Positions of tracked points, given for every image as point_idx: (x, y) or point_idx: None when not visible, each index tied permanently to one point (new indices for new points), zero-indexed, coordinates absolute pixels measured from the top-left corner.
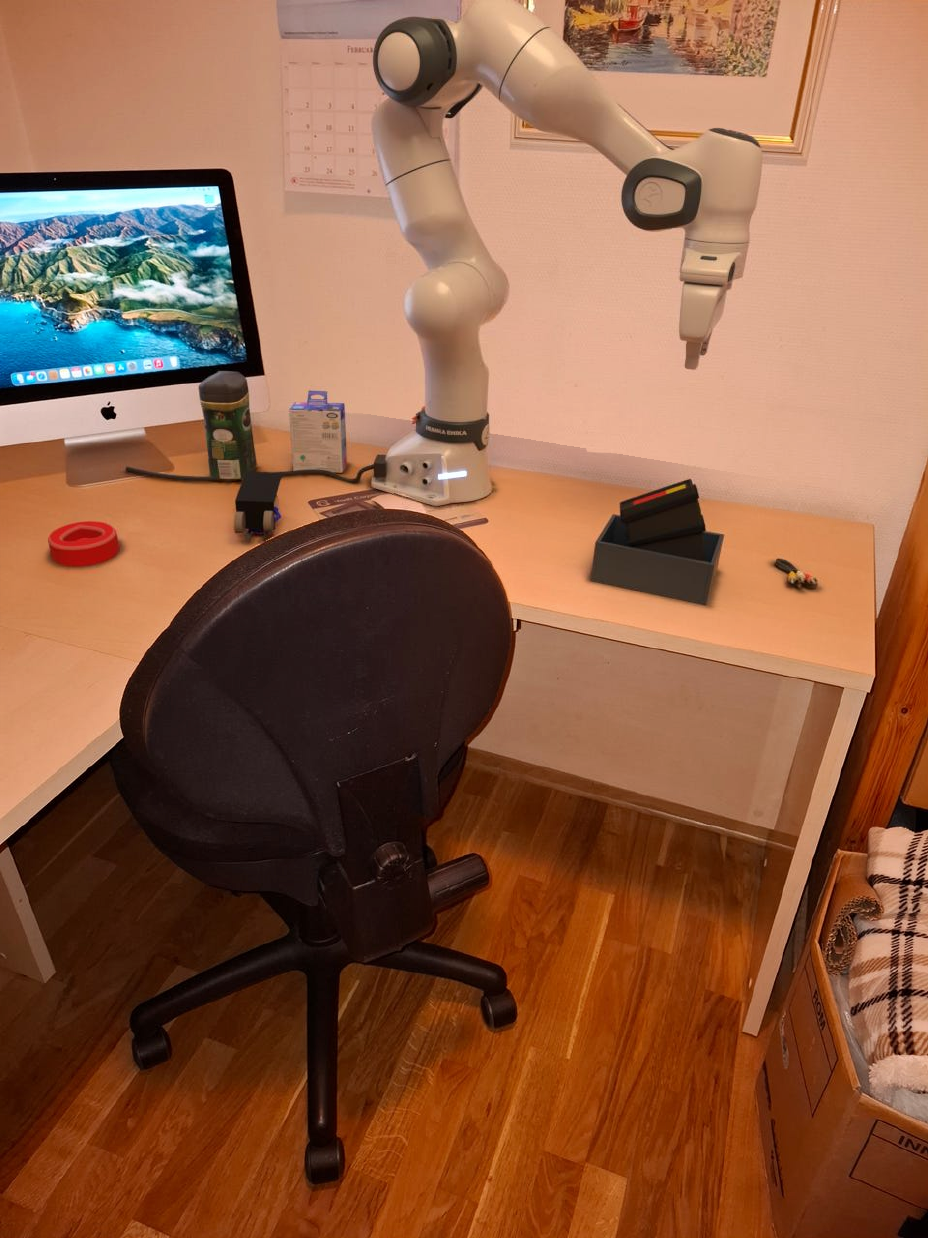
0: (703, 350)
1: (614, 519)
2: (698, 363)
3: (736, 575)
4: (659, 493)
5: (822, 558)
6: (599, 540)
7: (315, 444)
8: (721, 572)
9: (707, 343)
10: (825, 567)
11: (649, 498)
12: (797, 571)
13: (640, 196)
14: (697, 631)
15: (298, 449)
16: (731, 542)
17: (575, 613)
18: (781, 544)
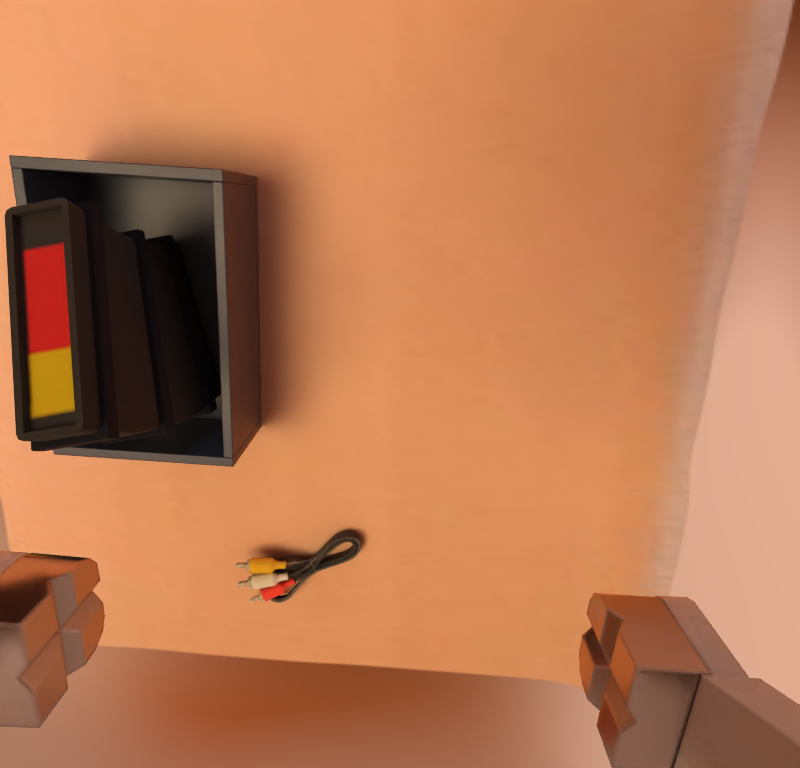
0: (600, 680)
1: (201, 180)
2: (78, 662)
3: (267, 463)
4: (64, 326)
5: (418, 608)
6: (24, 165)
7: None
8: (267, 435)
9: (641, 765)
10: (378, 611)
11: (50, 296)
12: (285, 575)
13: None
14: (3, 407)
15: None
16: (427, 448)
17: None
18: (457, 542)
